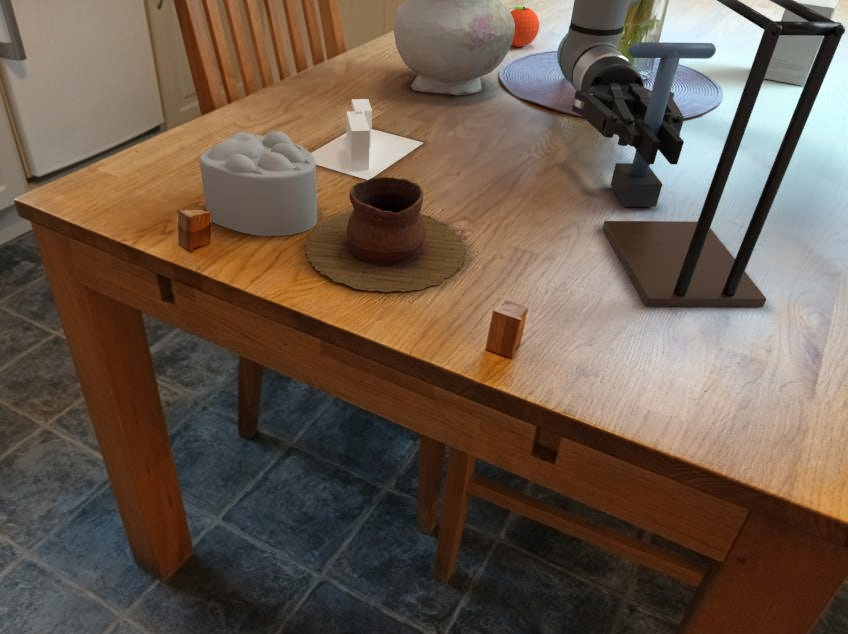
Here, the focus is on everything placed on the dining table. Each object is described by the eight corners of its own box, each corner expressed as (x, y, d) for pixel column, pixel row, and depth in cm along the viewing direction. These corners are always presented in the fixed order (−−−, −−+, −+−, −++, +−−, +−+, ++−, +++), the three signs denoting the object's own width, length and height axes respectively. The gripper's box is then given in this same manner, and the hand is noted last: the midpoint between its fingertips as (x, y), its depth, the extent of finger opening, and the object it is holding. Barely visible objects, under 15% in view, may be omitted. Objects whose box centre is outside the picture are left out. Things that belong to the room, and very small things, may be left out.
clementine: (489, 45, 141) (493, 5, 136) (507, 37, 145) (513, -1, 140) (524, 53, 137) (530, 13, 132) (542, 45, 141) (549, 6, 136)
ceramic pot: (396, 315, 70) (400, 252, 66) (271, 251, 79) (266, 192, 74) (497, 245, 81) (505, 188, 76) (376, 196, 89) (378, 142, 85)
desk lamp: (600, 224, 85) (662, -25, 68) (699, 225, 85) (786, -23, 69) (645, 306, 72) (737, 24, 55) (763, 306, 72) (889, 26, 56)
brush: (588, 184, 93) (623, 34, 81) (662, 185, 93) (706, 35, 81) (601, 206, 88) (639, 50, 76) (678, 206, 88) (728, 51, 77)
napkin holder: (369, 180, 93) (370, 137, 89) (298, 160, 97) (296, 118, 94) (424, 142, 103) (427, 102, 99) (357, 125, 107) (358, 86, 104)
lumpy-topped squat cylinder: (247, 184, 91) (240, 117, 86) (335, 208, 87) (335, 139, 81) (195, 218, 84) (185, 147, 79) (289, 246, 80) (285, 173, 74)
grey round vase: (426, 63, 134) (426, -93, 119) (528, 71, 127) (542, -94, 112) (377, 100, 119) (369, -74, 104) (490, 111, 112) (499, -74, 97)
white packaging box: (803, 86, 125) (835, 8, 117) (758, 78, 128) (786, 1, 120) (810, 75, 130) (840, -1, 122) (766, 67, 133) (793, -8, 125)
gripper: (653, 110, 102) (720, 184, 84) (548, 109, 101) (592, 183, 83) (668, 55, 97) (742, 120, 79) (558, 54, 97) (607, 119, 79)
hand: (665, 152), depth 81 cm, fingers closed on brush, 2 cm apart
